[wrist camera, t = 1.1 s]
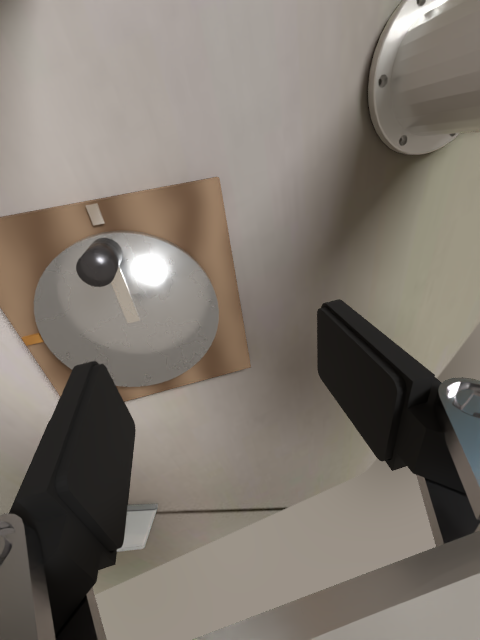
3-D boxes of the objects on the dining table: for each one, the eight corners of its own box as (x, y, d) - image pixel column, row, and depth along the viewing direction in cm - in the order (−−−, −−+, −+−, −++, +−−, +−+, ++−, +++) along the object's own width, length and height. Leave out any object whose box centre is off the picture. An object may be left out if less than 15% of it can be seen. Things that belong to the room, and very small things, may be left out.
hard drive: (104, 513, 45) (96, 554, 50) (157, 509, 48) (144, 549, 53) (106, 502, 46) (98, 544, 51) (157, 499, 49) (145, 539, 54)
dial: (228, 358, 35) (239, 390, 30) (85, 396, 33) (71, 437, 28) (197, 213, 26) (205, 226, 21) (-2, 253, 24) (-44, 277, 19)
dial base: (216, 176, 26) (219, 178, 25) (247, 360, 38) (251, 368, 36) (-41, 224, 24) (-56, 229, 22) (76, 406, 35) (72, 417, 34)
